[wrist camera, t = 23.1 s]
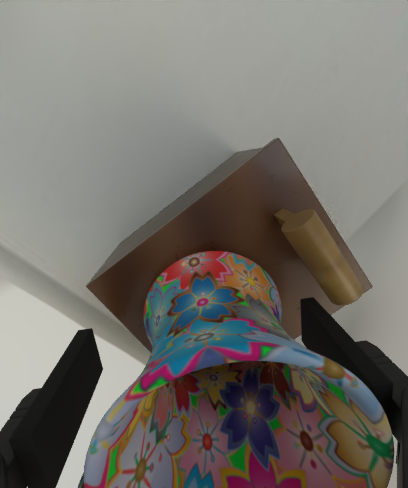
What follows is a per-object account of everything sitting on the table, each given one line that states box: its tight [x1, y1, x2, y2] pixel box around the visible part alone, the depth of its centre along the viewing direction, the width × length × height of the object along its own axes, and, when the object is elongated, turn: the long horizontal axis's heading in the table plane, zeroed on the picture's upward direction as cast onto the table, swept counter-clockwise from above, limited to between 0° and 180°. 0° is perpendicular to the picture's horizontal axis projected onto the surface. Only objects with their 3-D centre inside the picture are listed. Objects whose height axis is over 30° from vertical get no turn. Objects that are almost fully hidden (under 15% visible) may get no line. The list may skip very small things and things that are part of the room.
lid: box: [86, 138, 372, 352], centre depth 17 cm, size 14×12×5 cm
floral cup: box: [78, 251, 394, 488], centre depth 14 cm, size 12×9×11 cm
